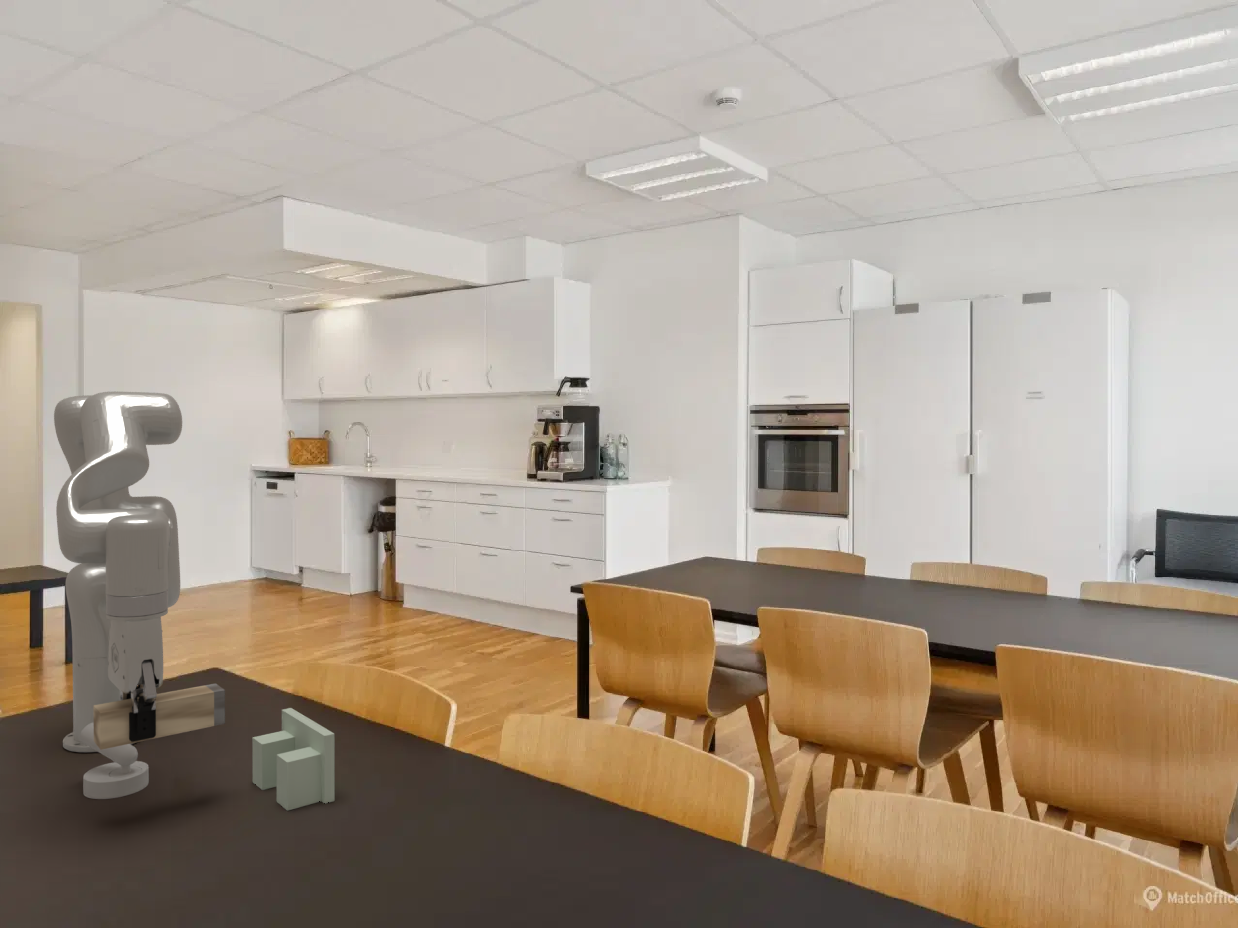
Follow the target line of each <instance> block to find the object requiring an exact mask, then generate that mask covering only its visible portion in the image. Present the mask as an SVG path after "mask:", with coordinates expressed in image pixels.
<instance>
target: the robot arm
mask: <svg viewBox="0 0 1238 928" xmlns="http://www.w3.org/2000/svg"><path fill="white" fill-rule="evenodd" d="M53 423H54V430H55V433H56V438H57V442H58V443H59V446H60V449H61V451H62V454H63V455H64V457H65V460H66V462H67V464H68V466H69V470H70V473H71V475H70V476H69V477H68V478H67V480H66V481H65V482H64V484H63V485H62V487H61V488H60V491H59V494H58V497H57V501H56V524H57V537H58V539H57V540H58V545H59V548H60V552H61V554H62V555H63V557H64V558H65V559H67V561H69V562H72V563H75V564H77V565H75V566H74V567H73V568H72V569H70V570H69V571H68V573H67V575H66V578H65V594H66V600H67V605H68V611H69V616H70V623H71V625H70V626H71V641H72V642H71V643H72V644H71V645H72V650H71V651H72V714H73V715H72V717H73V718H72V723H73V725H72V727H73V728H72V732H70V733H68V734H66V735H65V737H63V740H62V747H63V748H64V749H65V750H67V751H69V752H73V753H74V752H75V753H99V752H98V751H96V750H94V749H93V748H91V747H89V746H88V745H86V744H84V743H83V742H81V741H79V735H80V733H81V731H82V730H83V729H84V728H85V727H86V726H87V725H88V724H90V723H94V715H93V705H98V704H104V703H109V702H115V701H121V700H126V699H131V705H132V712H130V713H129V740H130V741H131V742H135V741H140V740H144V739H149V738H154V737H155V736H156V697H157V694H158V693H157V689H159V688H160V687H161V686H162V685H163V683H164V646H163V644H164V643H163V641H164V640H163V629H162V625H163V624H162V617H164V616H165V615H168V614H169V612H168V611H169V608H171V607H173V606H174V605H176V603H177V602H178V600H179V598H180V594H181V566H180V565H181V564H180V546H179V545H180V544H179V528H178V519H177V518H178V517H177V512H176V509H175V507H174V505H173V503H172V502H171V501H170V500H169V499H168V498H165V497H162V496H156V495H153V496H152V495H151V496H147V495H145V496H131V494H130V491H129V487H131V486H133V485H135V484H136V483H138V482H139V481H141V480H142V479H144V477H145V476H146V475H147V473H148V471H149V468H150V458H149V454H148V448H147V446H159V445H160V446H161V445H171V444H174V443H176V442H177V441H178V440H179V438H180V436H181V433H182V430H183V415H182V412H181V409H180V406H179V403H178V402H177V400H176V399H175V398H174V397H173V396H172V395H170V394H167V393H161V392H142V391H141V392H137V391H103V392H98V393H95V394H91V395H76V396H68V397H66V398H63V399H61V400H60V401H58V403H56V405H55V408H54V412H53ZM137 697H139V699H138V698H137ZM154 739H155V738H154ZM140 742H141V741H140ZM135 743H137V742H135ZM135 743H131V745H134V744H135Z"/></svg>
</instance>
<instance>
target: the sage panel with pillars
mask: <svg viewBox="0 0 1238 928" xmlns="http://www.w3.org/2000/svg"><path fill="white" fill-rule="evenodd" d="M251 741H252V751H251V752H252V756H251V758H252V783H253V784H254V785H255V784H256V785H255V786H257V788H259V789H260V790H262V791H265V790H268V789H272V788H276V803H277V804H279V805H280V806H282V808H283V809H285V810H286V811H287V812H288V811H291V810H295V809H298V808H302V807H305V806H309V805H312V804H316V803H320V802H322V803H323V804H324V803H325V804H328V802H329V803H332V802H335V798H336V797H335V786H336V785H335V759H336V758H335V757H336V756H335V754H336V753H335V748H336V747H335V733H334V732H332V731H331V730H329V729H327V728H326V727H324V726H322V725H321V724H319V723H317V722H316V721H314V720H312V719H310V718H309V717H307V716H305V715H303V714H302V713H300V712H298V711H297V710H295V709H293V708H292V707H288V708H284V709H281V730H280V731H276V732H271V733H266V734H262V735H258V736H254V737H253V736H252V740H251ZM319 801H320V802H319Z"/></svg>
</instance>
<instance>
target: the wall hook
mask: <svg viewBox="0 0 1238 928" xmlns="http://www.w3.org/2000/svg"><path fill="white" fill-rule="evenodd" d="M79 741H81V742H83V743H84V744H86V745H88V746H89V747H91V748H93V749H94V750H96V751H98V752H97V753H99V754H101V755H102V756H104V757H106V758H108V759H109V760H111V761H113V762H109V763H105V764H101V765H98V766H95V767H93V768H91V769H89V770H87V772H85V773H84V774H83V779H82V782H83V784H82V785H83V786H82V787H83V788H82V792H83V796H84V797H86V798H89V799H95V800H109V799H117V798H121V797H125V796H129V795H132V794H135V793H137V792H140V791H142V790H144V789H145V788H146V787H147V786H148V785H149V781H150V780H149V779H150V777H149V774H150V773H149V770H150V769H149V768H150V767H149V764H148V763H147V762H144V761H142V760H141V761H140V760H138V758H139V757H138V756H139V753H138V749H137V748H136V747H135V746H134V745H133V744H126V745H121V746H116V747H112V748H107V749H102V750H100V748H99V747H98V746H97V745H96V743H95V742H94V723H90V724H88V725H87V726H86V727H85V728H84V729H83V730H82V731H81V733H80V735H79Z"/></svg>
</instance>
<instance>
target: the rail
mask: <svg viewBox="0 0 1238 928" xmlns="http://www.w3.org/2000/svg"><path fill="white" fill-rule="evenodd" d="M137 698H138V699H139V697H137ZM225 702H226V689H224V688H223V687H221V686H220V685H219V684H217V683H216V682H215V683H211V684H206V685H200V686H193V687H189V688H184V689H177V690H172V691H166V692H161V693H160V692H159V693H157V697H156V736H155V737H154V738H149V739H144V740H140V741H135V742H136V743H139V742H143V741H144V742H145V741H149V740H154V739H159V738H163V737H167V736H172V735H178V734H183V733H188V732H190V731H191V732H192V731H196V730H202V729H205V728H210V727H215V726H220V725H225V724H226V703H225ZM130 712H132V705H131V699H126V700H121V701H115V702H109V703H104V704H98V705H93V715H94V742H95V743H96V745H97V746H98V747H99V748H100V750H102V749H107V748H112V747H116V746H121V745H126V744H131V743H133V744H135V742H131V741H130V740H129V713H130ZM131 745H132V744H131Z"/></svg>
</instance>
